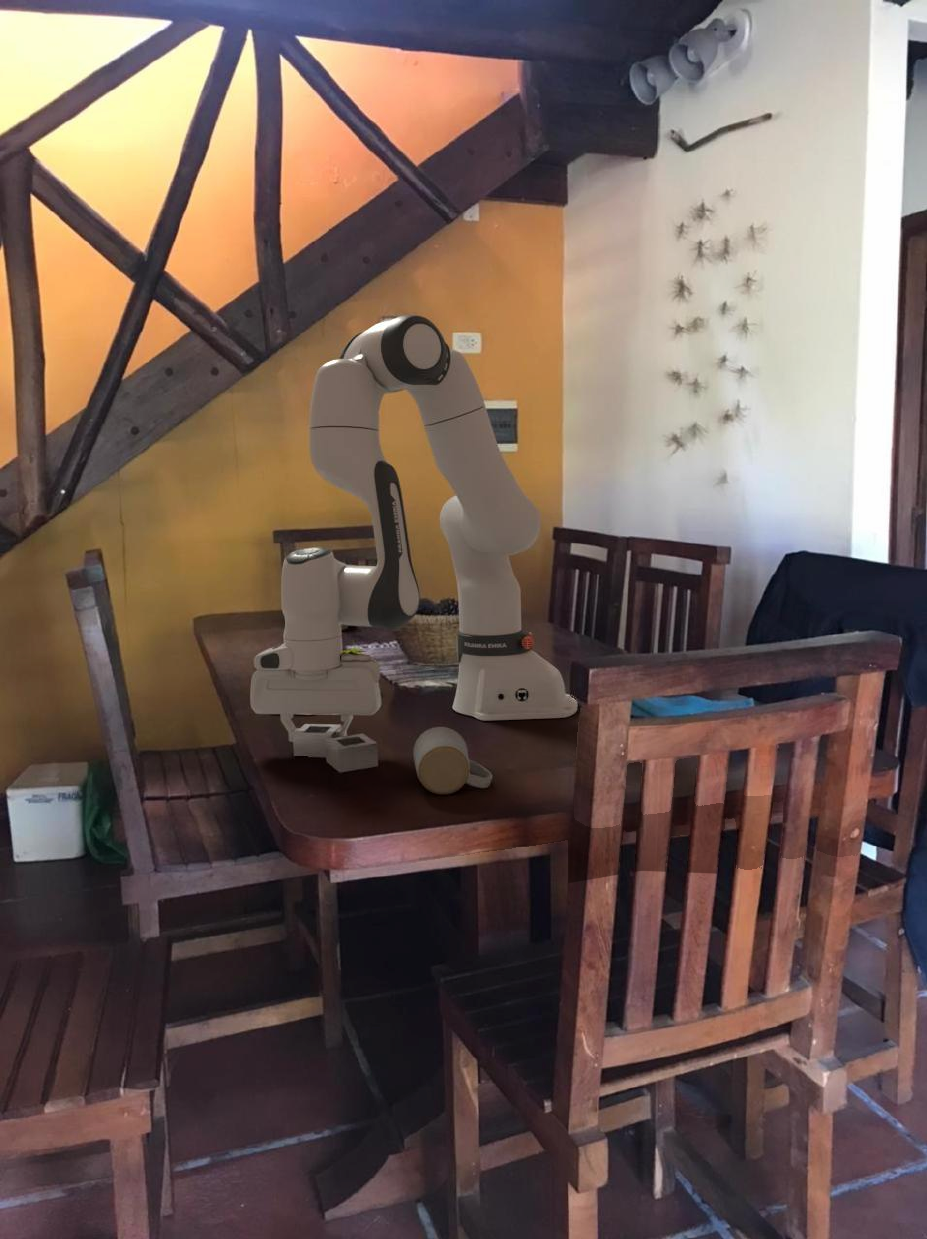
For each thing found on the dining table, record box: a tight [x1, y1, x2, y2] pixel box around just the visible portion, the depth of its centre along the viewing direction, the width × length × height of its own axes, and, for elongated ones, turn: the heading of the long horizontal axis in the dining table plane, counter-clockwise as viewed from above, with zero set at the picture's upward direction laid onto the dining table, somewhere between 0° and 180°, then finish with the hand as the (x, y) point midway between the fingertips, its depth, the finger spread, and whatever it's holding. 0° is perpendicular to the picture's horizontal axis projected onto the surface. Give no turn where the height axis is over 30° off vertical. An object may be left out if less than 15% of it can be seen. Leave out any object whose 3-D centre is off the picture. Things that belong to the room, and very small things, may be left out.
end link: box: [292, 723, 342, 758], centre depth 151 cm, size 6×6×4 cm
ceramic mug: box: [412, 726, 493, 795], centre depth 133 cm, size 11×8×8 cm
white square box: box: [325, 733, 379, 774], centre depth 144 cm, size 6×6×4 cm
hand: (318, 741), depth 151 cm, fingers closed on end link, 6 cm apart
